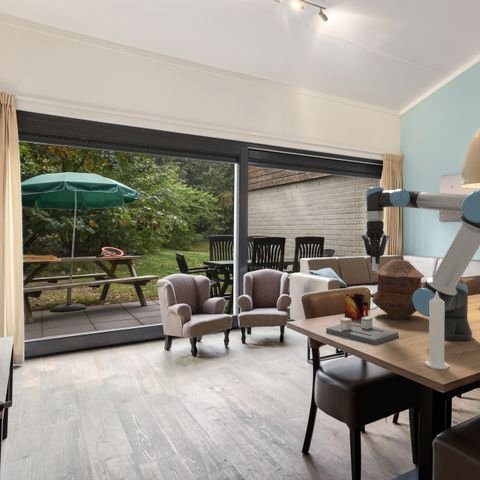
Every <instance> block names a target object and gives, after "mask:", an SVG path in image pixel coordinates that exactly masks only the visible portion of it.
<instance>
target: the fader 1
mask: <svg viewBox="0 0 480 480" xmlns="http://www.w3.org/2000/svg"><path fill="white" fill-rule="evenodd" d="M352 322H353V320H352V319H350V318H345V317H344V318H340V324H339V325H340V329H342V330H350V329H352Z"/></svg>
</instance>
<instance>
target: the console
mask: <svg viewBox="0 0 480 480" xmlns="http://www.w3.org/2000/svg"><path fill="white" fill-rule="evenodd" d="M325 331H326V332H325V333H327V334H331V335H333V336H334V335H335V336H339V337H343V338H346V339H350V340H353V341H357V342H362V343H366V344H370V345H374V346H376V345H378V344H383V343H384V342H388V341H390V340H393V339H396V338H399V331H394V330H390V329H385V328H382V327H375V326H372V328H369V329H365V328H361V323H356V322H353V321H352V329H350V330H342V329H340V324H337V325H332V326H329V327H327V328H326V329H325Z"/></svg>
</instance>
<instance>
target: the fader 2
mask: <svg viewBox="0 0 480 480" xmlns="http://www.w3.org/2000/svg"><path fill="white" fill-rule="evenodd" d="M373 320H374V319H373V317H371V316H368V317H367V316H366V317H363V318H361V320H360V321H361V323H360V324H361V328H365V329H369V328H372V327H373Z"/></svg>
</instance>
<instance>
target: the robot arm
mask: <svg viewBox="0 0 480 480" xmlns="http://www.w3.org/2000/svg"><path fill="white" fill-rule="evenodd" d="M384 189H385V188H384V187H383V186H382V187H381V186H375V187H368V188H367V190H366V196H365V197H366V220H367V222H366V233H365V234H364V235H362V236H361V238H362V240H363V243H364V248H365V253H366V256H369V257H370V264H371V271H372V272H376V271H378V270H379V264H380V259H381V258H380V257H382V256H384V255H385V251H386V248H387V247H386V246H387V242H388V240H389V238H390V235H387V234H385V231H384V224H385V221H384V217H385V216H384V215H385V214H384V213H385V210H384V208H411V209H422V210H431V211H442V212H451V213H452V212H453V213H461V216H460V218H459V219H460V222H461V226H460V227H459V230H458V232H457V233H456V235H455V236H454V239H453V240H452V242H451V244H450V246H449V247H448V250H447V251H446V253H445V255H444V256H443V258H442V260H441V262H440V264H439V265H438V267H437V269H436V271H435V273H434V274H433V276H431V277H428V278H427V279H426V281H425V283H424V284H423V286H422V287H421V288H419V289H418V290H416V291H415V292H414V294H413V303H414V307H415V309H416V310H417V311H416V312H418V313H419V314H420V315H422V316H424V317H427V318H429V301H430V300H431V299H433V298H434V297H435V294H436V291H438V295H439V297H440V299H442V300H443V301H444V302H445V316H444V340H445V341H447V340H448V341H454V342H465V341H471V340H472V339H473V331H472V329H471V326H470V323H469V320H468V311H469V310H468V309H469V308H468V306H469V305H468V304H469V303H468V302H469V298H468V297H469V291H468V285H467V284H465V283H460V282H459V281H460V280H461V278H463V275H464V273H465V271H466V270H467V268H468V266H469V265H470V263H471V261H472V260H473V259H474V256H475V254H476V253H477V252H478V250H479V247H480V189H477V190H475V191H472V192H471V193H469V194H465V193H464V194H460V193H446V192H445V193H444V192H429V191H416V190H415V191H413V190H407V189H404V188H397V189H389V190H384Z"/></svg>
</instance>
